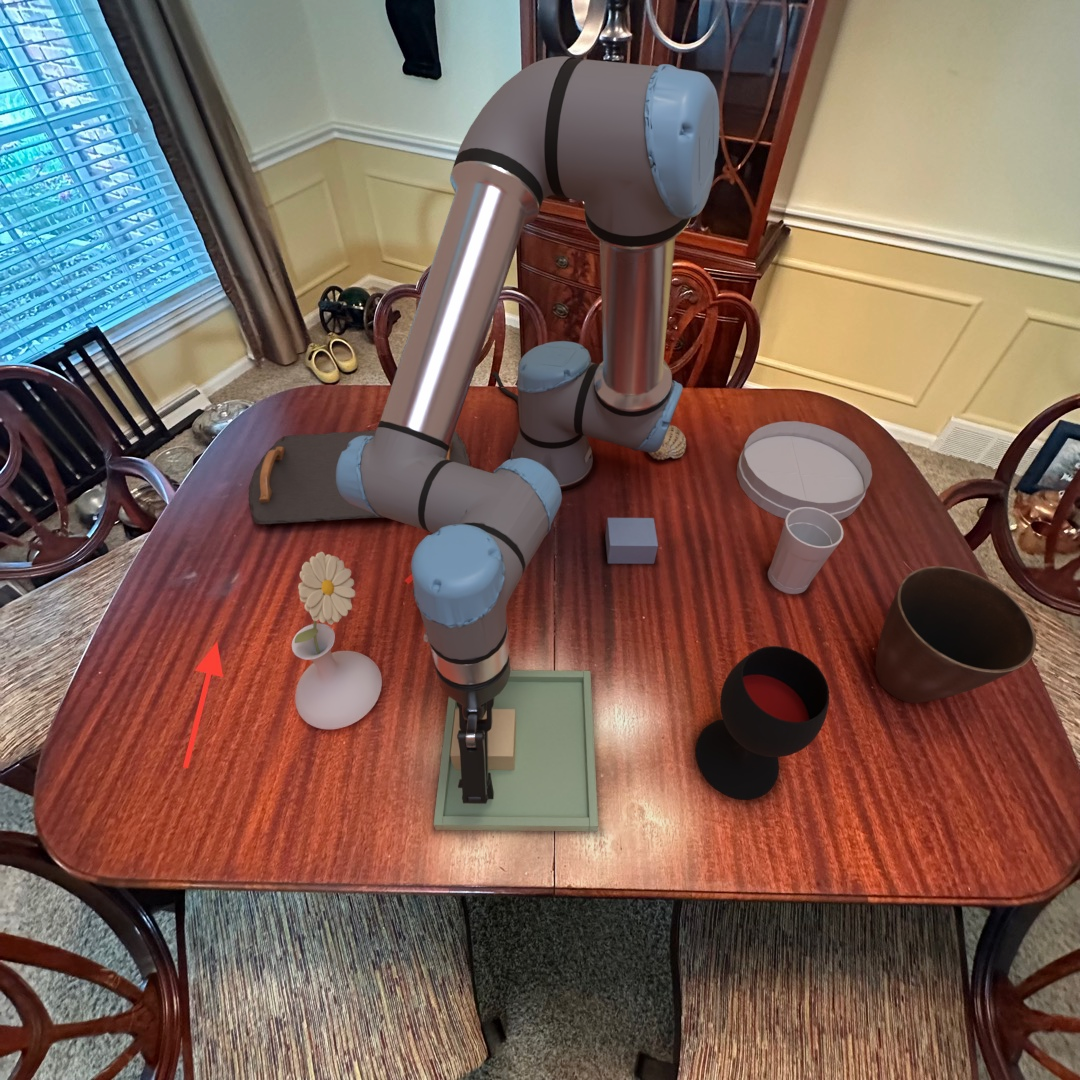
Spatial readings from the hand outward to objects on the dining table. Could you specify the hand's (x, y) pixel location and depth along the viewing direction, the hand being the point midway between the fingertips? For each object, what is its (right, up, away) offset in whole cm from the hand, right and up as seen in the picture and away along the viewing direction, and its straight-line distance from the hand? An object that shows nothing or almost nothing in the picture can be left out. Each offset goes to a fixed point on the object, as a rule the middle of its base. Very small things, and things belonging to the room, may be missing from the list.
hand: (486, 740), depth 76 cm
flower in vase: (-20, +5, +7) cm, 21 cm away
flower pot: (+57, +6, +8) cm, 58 cm away
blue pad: (+21, +24, +23) cm, 40 cm away
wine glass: (+32, -2, +1) cm, 32 cm away
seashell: (+31, +43, +40) cm, 66 cm away
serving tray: (-25, +36, +34) cm, 55 cm away
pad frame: (+4, -1, +1) cm, 5 cm away
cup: (+46, +19, +20) cm, 54 cm away
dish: (+54, +36, +34) cm, 74 cm away
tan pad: (0, -1, +1) cm, 2 cm away
